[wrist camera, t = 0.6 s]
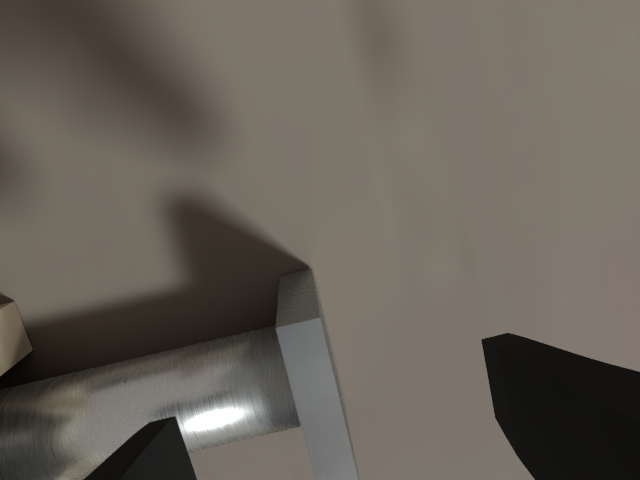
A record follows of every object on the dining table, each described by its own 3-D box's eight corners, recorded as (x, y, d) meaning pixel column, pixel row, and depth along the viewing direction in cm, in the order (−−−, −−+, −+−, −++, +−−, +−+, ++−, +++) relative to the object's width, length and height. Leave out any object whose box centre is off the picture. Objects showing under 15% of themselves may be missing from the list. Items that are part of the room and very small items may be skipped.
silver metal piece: (345, 412, 22) (365, 508, 16) (35, 486, 22) (-56, 609, 16) (312, 268, 20) (320, 317, 15) (-22, 345, 20) (-144, 425, 14)
